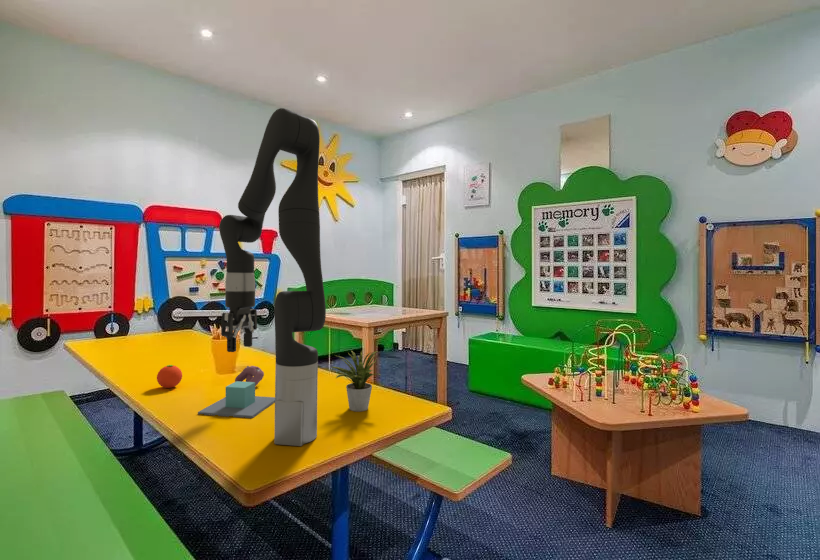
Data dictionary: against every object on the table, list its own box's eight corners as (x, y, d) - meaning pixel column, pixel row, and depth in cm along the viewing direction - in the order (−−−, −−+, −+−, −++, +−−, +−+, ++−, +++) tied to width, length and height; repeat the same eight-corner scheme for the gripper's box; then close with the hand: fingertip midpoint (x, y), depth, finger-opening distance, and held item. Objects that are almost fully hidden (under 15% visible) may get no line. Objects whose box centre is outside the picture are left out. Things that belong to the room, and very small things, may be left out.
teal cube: (244, 408, 111) (244, 387, 111) (225, 407, 112) (225, 386, 112) (255, 401, 117) (255, 382, 116) (236, 400, 117) (236, 381, 117)
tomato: (156, 385, 133) (156, 363, 132) (181, 382, 136) (181, 361, 136) (156, 392, 126) (156, 368, 126) (182, 388, 129) (182, 366, 129)
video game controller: (259, 391, 133) (268, 370, 135) (247, 388, 130) (257, 366, 132) (244, 385, 140) (253, 365, 142) (232, 381, 136) (242, 361, 139)
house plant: (354, 395, 126) (355, 342, 125) (394, 403, 119) (395, 347, 119) (323, 409, 113) (324, 349, 113) (365, 419, 107) (366, 355, 106)
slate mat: (252, 418, 106) (252, 415, 106) (197, 414, 108) (197, 412, 108) (278, 399, 121) (278, 397, 121) (230, 396, 123) (230, 394, 123)
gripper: (239, 290, 106) (239, 354, 106) (265, 288, 120) (265, 345, 120) (212, 290, 107) (211, 353, 107) (241, 288, 121) (240, 344, 121)
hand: (240, 349), depth 113 cm, fingers open, 8 cm apart
